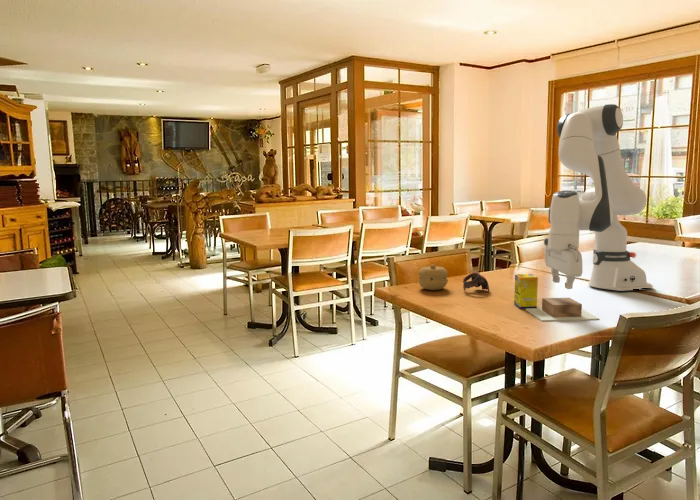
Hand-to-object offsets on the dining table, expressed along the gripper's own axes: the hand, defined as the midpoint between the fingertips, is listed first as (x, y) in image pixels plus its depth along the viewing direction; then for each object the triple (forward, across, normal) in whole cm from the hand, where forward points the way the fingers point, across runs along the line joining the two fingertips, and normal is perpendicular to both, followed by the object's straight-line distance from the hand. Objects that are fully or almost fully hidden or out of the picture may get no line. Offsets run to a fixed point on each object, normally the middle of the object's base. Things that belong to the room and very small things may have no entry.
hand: (562, 285), depth 168 cm
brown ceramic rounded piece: (+11, +37, +16) cm, 42 cm away
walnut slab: (+9, 0, 0) cm, 9 cm away
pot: (+10, +42, +34) cm, 55 cm away
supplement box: (+10, +11, +8) cm, 17 cm away
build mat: (+10, 0, 0) cm, 10 cm away
